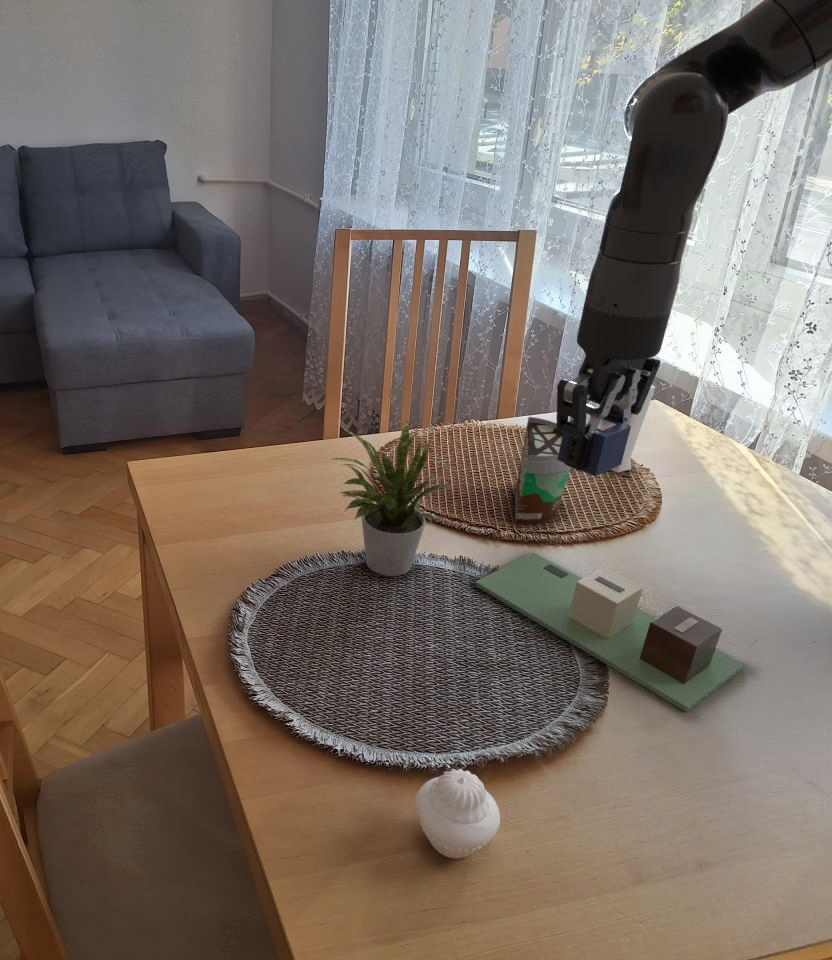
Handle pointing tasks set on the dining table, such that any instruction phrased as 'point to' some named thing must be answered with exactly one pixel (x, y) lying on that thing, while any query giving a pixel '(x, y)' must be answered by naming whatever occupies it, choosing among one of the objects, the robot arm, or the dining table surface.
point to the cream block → (605, 602)
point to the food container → (540, 473)
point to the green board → (548, 603)
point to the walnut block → (680, 644)
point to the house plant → (391, 507)
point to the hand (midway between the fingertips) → (589, 459)
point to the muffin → (457, 813)
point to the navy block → (602, 446)
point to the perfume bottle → (634, 433)
